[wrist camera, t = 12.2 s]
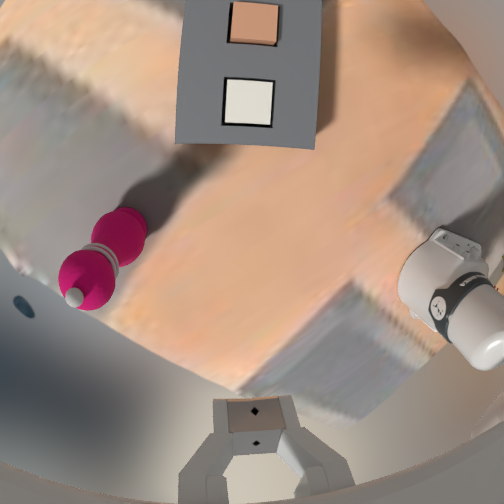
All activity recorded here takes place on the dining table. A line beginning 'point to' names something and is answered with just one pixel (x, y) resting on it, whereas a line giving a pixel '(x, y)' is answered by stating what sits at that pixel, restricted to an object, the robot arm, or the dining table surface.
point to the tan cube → (253, 24)
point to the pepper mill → (102, 259)
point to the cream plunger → (248, 102)
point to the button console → (249, 75)
